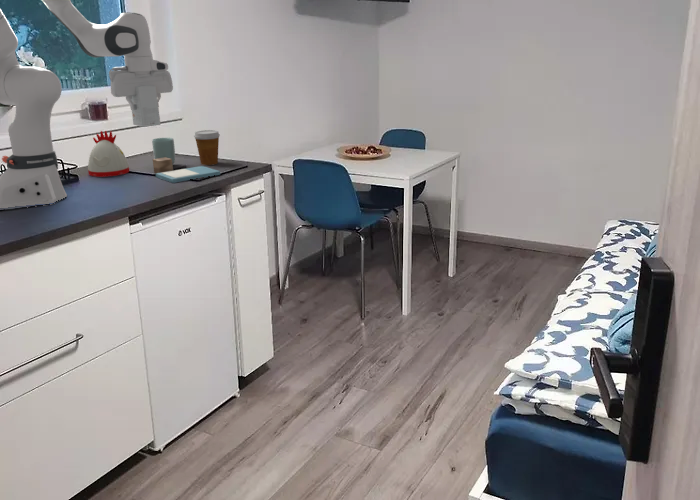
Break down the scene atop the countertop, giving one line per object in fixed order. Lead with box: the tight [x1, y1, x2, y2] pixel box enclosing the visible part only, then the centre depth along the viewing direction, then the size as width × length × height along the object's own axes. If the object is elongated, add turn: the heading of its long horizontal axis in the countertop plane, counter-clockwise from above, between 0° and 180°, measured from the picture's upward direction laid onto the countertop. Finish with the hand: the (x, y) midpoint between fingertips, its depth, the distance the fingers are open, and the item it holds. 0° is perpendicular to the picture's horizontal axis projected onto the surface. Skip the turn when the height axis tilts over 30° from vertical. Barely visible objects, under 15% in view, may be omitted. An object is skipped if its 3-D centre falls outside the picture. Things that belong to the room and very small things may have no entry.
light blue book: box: [155, 165, 221, 184], centre depth 222 cm, size 18×13×1 cm
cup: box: [151, 137, 176, 165], centre depth 237 cm, size 8×8×10 cm
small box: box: [131, 85, 161, 128], centre depth 211 cm, size 8×6×13 cm
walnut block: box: [152, 157, 174, 174], centre depth 227 cm, size 5×5×5 cm
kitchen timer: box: [87, 130, 130, 178], centre depth 227 cm, size 14×14×15 cm
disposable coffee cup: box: [193, 129, 221, 166], centre depth 240 cm, size 10×10×12 cm
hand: (145, 108), depth 212 cm, fingers closed on small box, 6 cm apart
